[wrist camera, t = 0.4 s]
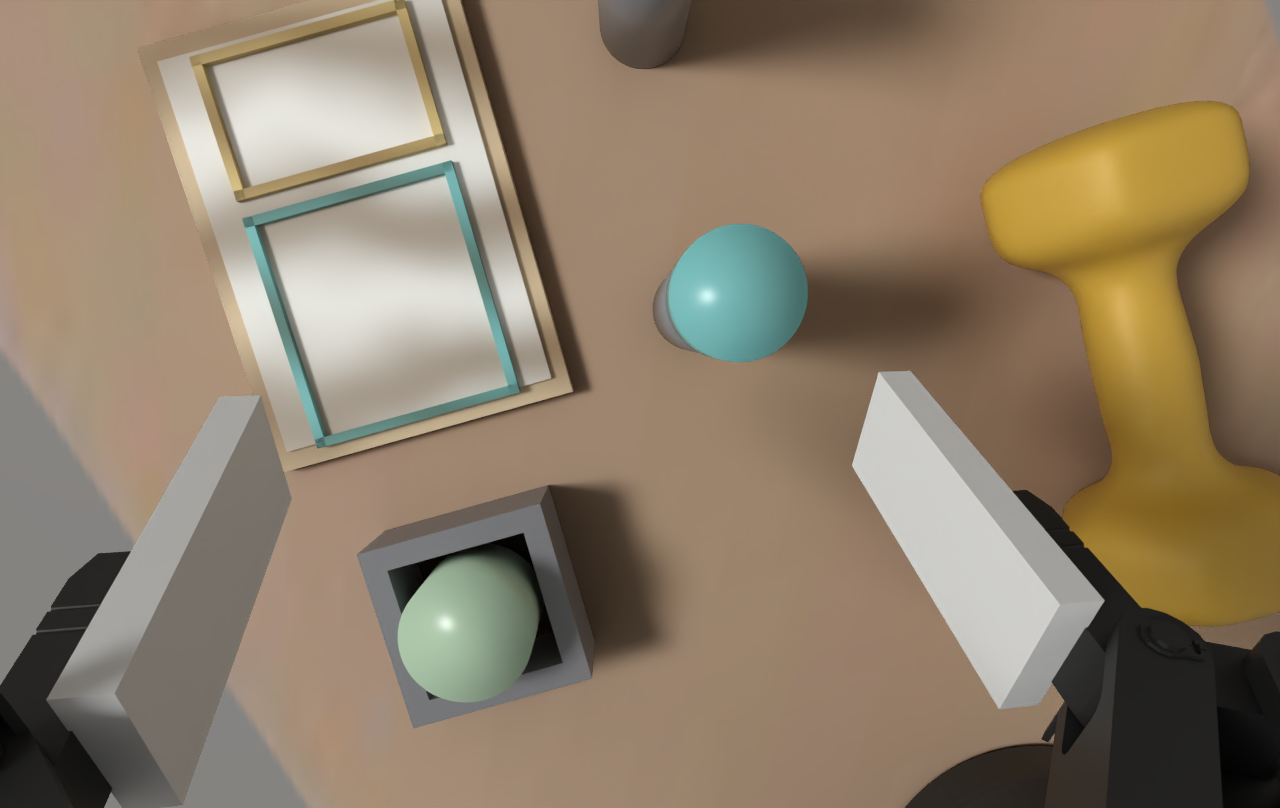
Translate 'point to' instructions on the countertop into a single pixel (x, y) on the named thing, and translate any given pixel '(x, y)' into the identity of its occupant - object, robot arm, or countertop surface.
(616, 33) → the ochre marker
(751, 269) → the teal marker
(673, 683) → the countertop surface
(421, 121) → the double window tray
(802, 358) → the countertop surface
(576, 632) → the button housing
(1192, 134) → the dumbbell
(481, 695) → the button
